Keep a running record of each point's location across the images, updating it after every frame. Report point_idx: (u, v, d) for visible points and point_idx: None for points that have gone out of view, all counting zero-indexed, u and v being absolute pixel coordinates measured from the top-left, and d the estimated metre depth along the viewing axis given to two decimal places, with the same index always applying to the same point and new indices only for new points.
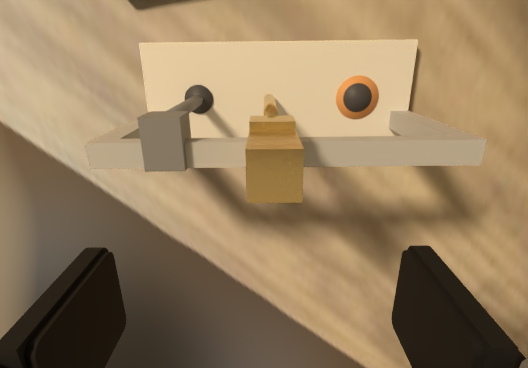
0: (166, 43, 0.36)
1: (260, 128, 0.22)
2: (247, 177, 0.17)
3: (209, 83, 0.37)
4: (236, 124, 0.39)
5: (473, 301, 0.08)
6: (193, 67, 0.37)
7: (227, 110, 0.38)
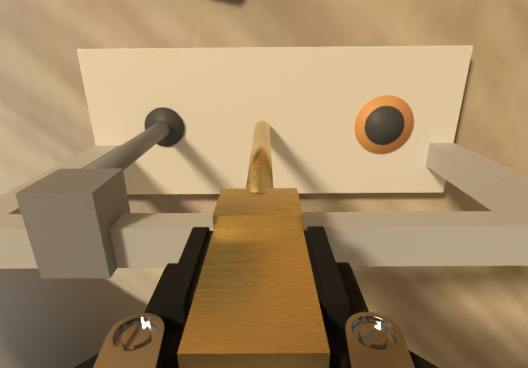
0: (116, 50, 0.25)
1: (234, 227, 0.11)
2: None
3: (178, 105, 0.27)
4: (217, 160, 0.28)
5: (334, 269, 0.09)
6: (155, 83, 0.26)
7: (204, 142, 0.28)
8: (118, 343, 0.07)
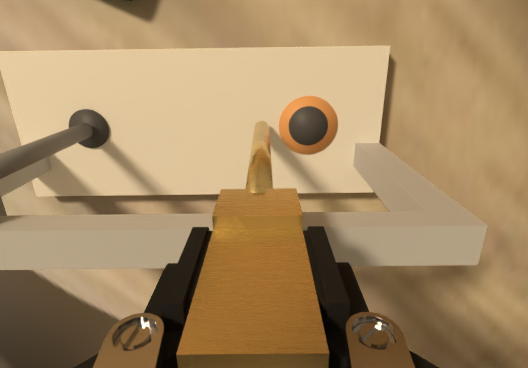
0: (34, 52, 0.25)
1: (234, 227, 0.11)
2: None
3: (101, 107, 0.27)
4: (145, 161, 0.28)
5: (334, 269, 0.09)
6: (76, 85, 0.26)
7: (130, 143, 0.28)
8: (117, 343, 0.07)
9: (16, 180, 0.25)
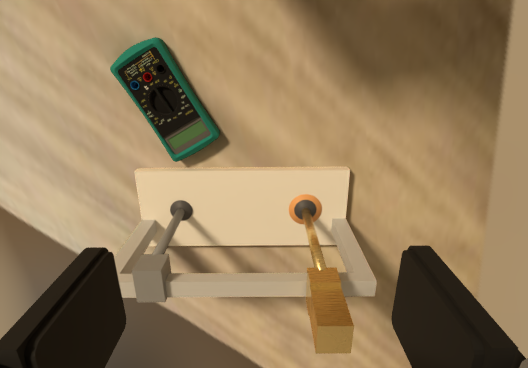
0: (155, 172, 0.46)
1: (317, 286, 0.32)
2: (317, 340, 0.28)
3: (189, 199, 0.48)
4: (211, 227, 0.49)
5: (473, 301, 0.08)
6: (176, 188, 0.47)
7: (204, 218, 0.49)
8: None
9: (147, 243, 0.46)
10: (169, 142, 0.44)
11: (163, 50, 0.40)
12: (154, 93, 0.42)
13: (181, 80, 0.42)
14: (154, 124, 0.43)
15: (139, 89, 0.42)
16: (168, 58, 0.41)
